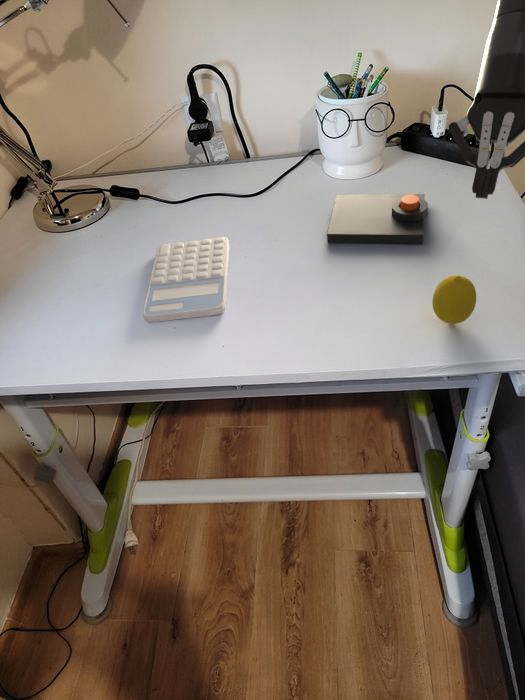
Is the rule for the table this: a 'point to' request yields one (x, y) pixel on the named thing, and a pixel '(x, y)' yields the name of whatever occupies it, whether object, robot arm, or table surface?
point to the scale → (376, 220)
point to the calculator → (188, 280)
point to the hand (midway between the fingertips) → (481, 197)
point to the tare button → (410, 202)
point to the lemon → (454, 299)
